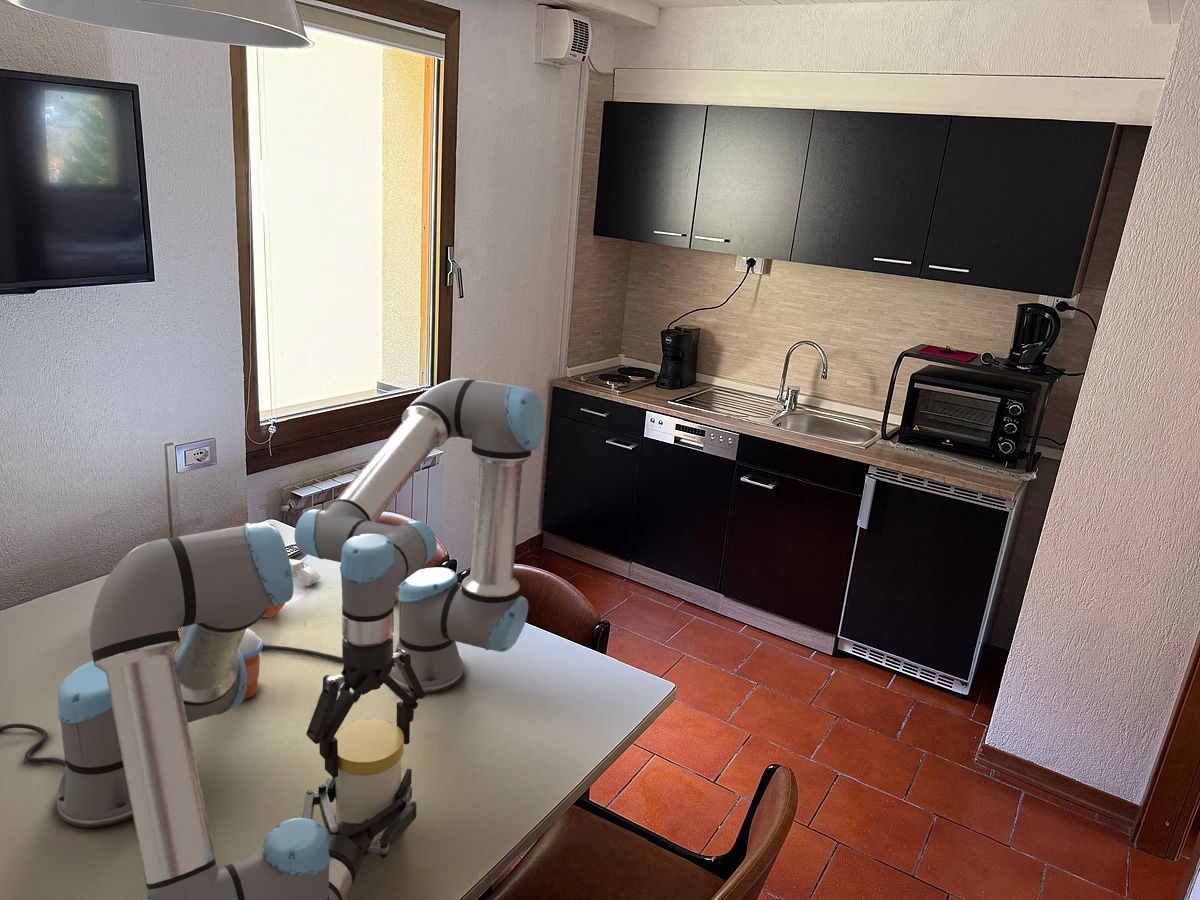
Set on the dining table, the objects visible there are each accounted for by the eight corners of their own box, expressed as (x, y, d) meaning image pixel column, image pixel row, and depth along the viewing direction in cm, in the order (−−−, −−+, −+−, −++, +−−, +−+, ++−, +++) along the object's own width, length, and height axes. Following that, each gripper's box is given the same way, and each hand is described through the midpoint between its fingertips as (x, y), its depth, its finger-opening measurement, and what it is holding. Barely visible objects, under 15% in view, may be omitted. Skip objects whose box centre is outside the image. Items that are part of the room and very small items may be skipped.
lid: (324, 741, 137) (324, 729, 136) (391, 724, 143) (391, 712, 142) (342, 783, 128) (342, 770, 128) (413, 763, 134) (413, 750, 133)
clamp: (253, 565, 223) (254, 542, 221) (265, 560, 226) (266, 537, 224) (309, 593, 215) (310, 569, 213) (320, 588, 218) (321, 564, 216)
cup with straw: (247, 708, 166) (243, 626, 161) (205, 700, 167) (200, 618, 162) (273, 683, 174) (270, 604, 169) (233, 675, 176) (229, 597, 171)
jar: (402, 800, 145) (403, 722, 141) (399, 845, 136) (399, 762, 131) (339, 804, 143) (338, 724, 139) (332, 849, 134) (330, 765, 129)
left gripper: (249, 887, 122) (309, 783, 143) (407, 905, 121) (444, 798, 142) (247, 844, 120) (308, 745, 141) (407, 862, 119) (445, 760, 140)
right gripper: (421, 603, 140) (419, 716, 147) (279, 650, 123) (284, 776, 130) (448, 621, 135) (445, 737, 142) (304, 673, 118) (308, 802, 125)
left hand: (376, 772), depth 142 cm, fingers closed on jar, 10 cm apart
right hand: (368, 756), depth 136 cm, fingers open, 12 cm apart
